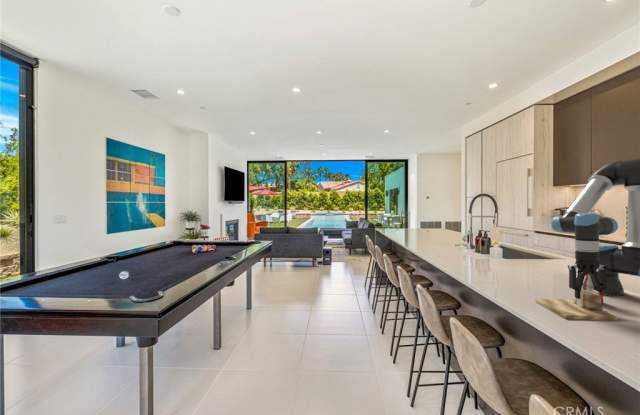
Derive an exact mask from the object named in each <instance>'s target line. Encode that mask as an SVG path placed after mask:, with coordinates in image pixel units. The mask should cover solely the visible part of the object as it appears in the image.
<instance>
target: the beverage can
mask: <svg viewBox="0 0 640 415" xmlns="http://www.w3.org/2000/svg"><path fill="white" fill-rule="evenodd" d="M597 273H598V269H597ZM597 276H598V275H597ZM585 277H586V290H588V291H591V292H592V290H595V289H594V286H593V283H592V280H591V277H590V274H589V273H587V274H586V276H585ZM598 279H599V278H598ZM603 303H604V295H603V292H601V305H603Z"/></svg>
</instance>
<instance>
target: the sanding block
mask: <svg viewBox="0 0 640 415" xmlns="http://www.w3.org/2000/svg"><path fill="white" fill-rule="evenodd" d="M581 291H583V308H585V309H587V310H603V307H602V304H601V295H599V294H596V293H594V292H591V291H588V290H583V289H581ZM575 300H576V301H574V304H576V305H577V298H575Z"/></svg>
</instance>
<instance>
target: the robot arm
mask: <svg viewBox="0 0 640 415" xmlns="http://www.w3.org/2000/svg"><path fill="white" fill-rule="evenodd" d="M620 185H621V186H623V188H624V189H625V190H626V191H627V192H628V193H627V194H628V196H627V197H628V198H627V218H626V219H627V220H626V221H627V222H626V225H627V226H626V241H625V242H624V243H622V244H621V248H620V247H619V245H617V244H600V236H607V235H611V234H615V232H617V230H618V229H619V225H618V222H617V220H616V219H615V218H613V217H609V216H599V214H597V213H594V212H591V211H593V208H594V207H595V206H596V205H597V204H598V202H599V200H600V199H601V198H602V197H603V195H604V194H605V193H606V191H609V190H611V189H612V188H613V187H614V186H620ZM550 224H551V228H552V229H553V231H555V232H558V233H567V234H570V233H571V234H574V244H575V245H574V249H575V251H574V253H575V255H574V257H575V262H574V264H569V265H568V264H567V268H568V276H569V277H568V287H569V289H571V290H574V298H575V299H576V298H577V305H578V306H580V307H583V291H581V290H586V274H587V273H589V274H590V277H591V280H592V283H593V286H594V289H595V290H592V292H594V293H596V294H599V295H601V292H603V296H614V297H615V296H616V297H617V296H623V295H624V294H625V289H624V287H623V285H622V283H621V282H622V281H621V280H620V275H619V274H622V275H628V276H629V275H630V276H636V277H639V278H640V158H639V157H638V158H632V159H625V160H616V161H612V162H610V163H607V164H605V165H603V166H602V167H600V168H598V169H597V170H596V171H594V172H593V173H592V174H591V175H590V176H589V178H588V179H587V184H586V186H585V187H584V188H583V189H582V191H581V192H580V193H579V195H578V196H577V197H576V198H575V199H574V201H573V202H572V204H571V205H570V206H569V207H568V209H566V211H565V212H564V213H563V215H557V216H553V218H552V219H551V222H550ZM597 269H598V273H597ZM597 275H598V276H597ZM598 278H599V279H598Z"/></svg>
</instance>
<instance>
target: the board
mask: <svg viewBox="0 0 640 415" xmlns="http://www.w3.org/2000/svg"><path fill="white" fill-rule="evenodd" d="M534 300H535V303H536V304H538V305H539V306H541V307H543V308H545V309H547V310H549V311H550V312H552V313H553V314H556V315H558V316H559V317H560V318H563V319H565V320H591V321H592V320H598V321H618V316H617V315H615V314H612V313H611V312H608V311H606V310H587V309H585V308H583V307H580V306H578V305H576V304H574V301H576V299H560V298H559V299H557V298H555V299H554V298H553V299H552V298H551V299H549V298H536V299H534Z"/></svg>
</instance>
